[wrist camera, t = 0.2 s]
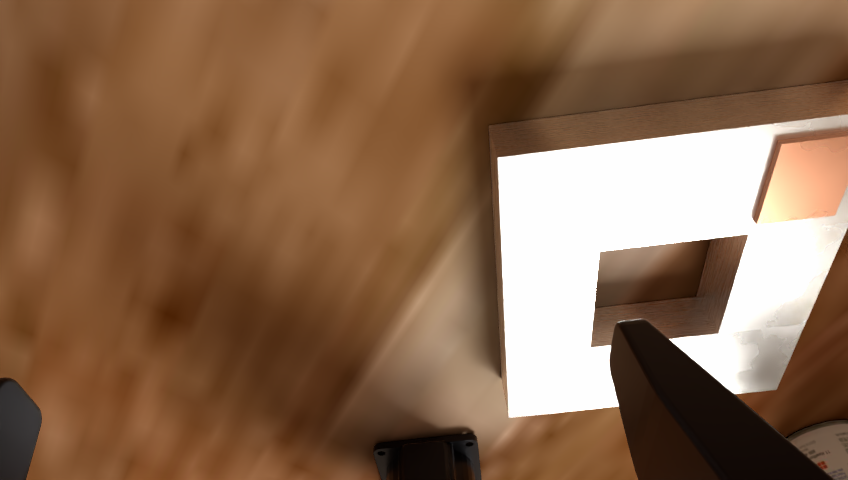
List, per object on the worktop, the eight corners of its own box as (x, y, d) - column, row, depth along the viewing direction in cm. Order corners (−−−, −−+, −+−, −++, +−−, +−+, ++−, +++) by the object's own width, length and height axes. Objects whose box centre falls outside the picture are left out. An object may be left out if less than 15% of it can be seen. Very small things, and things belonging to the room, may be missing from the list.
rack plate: (752, 352, 32) (779, 394, 29) (501, 379, 32) (509, 422, 30) (854, 79, 22) (906, 111, 19) (488, 125, 22) (498, 162, 20)
